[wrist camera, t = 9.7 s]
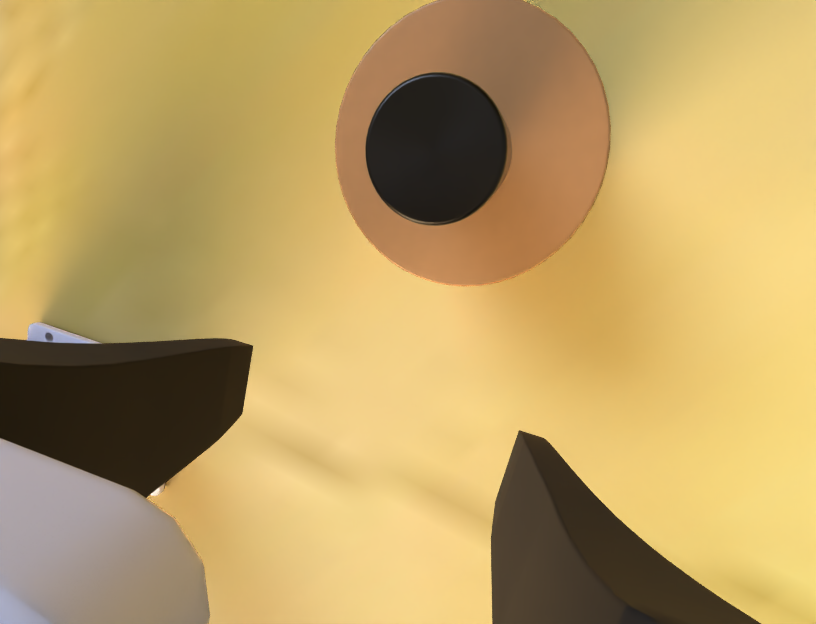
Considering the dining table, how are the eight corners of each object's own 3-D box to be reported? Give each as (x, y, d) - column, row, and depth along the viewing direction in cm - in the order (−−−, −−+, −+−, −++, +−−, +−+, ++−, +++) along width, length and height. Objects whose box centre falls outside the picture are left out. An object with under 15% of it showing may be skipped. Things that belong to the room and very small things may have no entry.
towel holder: (419, 32, 17) (242, -176, 6) (619, 70, 16) (809, -108, 5) (383, 224, 20) (217, 301, 9) (551, 268, 19) (585, 415, 8)
